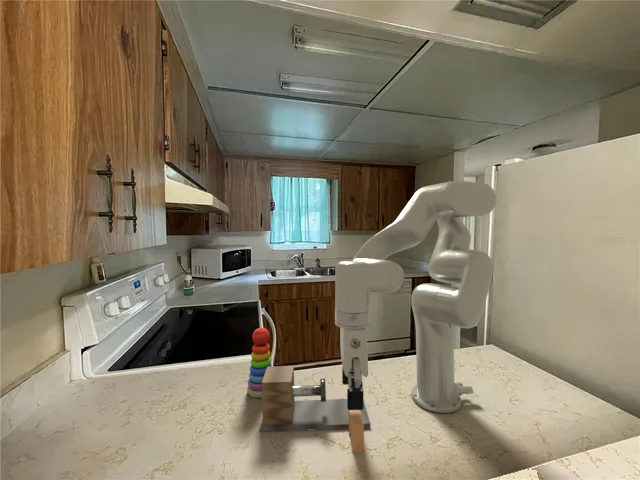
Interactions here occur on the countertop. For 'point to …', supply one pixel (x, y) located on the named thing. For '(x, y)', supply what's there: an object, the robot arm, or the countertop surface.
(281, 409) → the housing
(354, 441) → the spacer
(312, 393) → the shaft
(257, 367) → the stacking toy
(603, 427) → the countertop surface
